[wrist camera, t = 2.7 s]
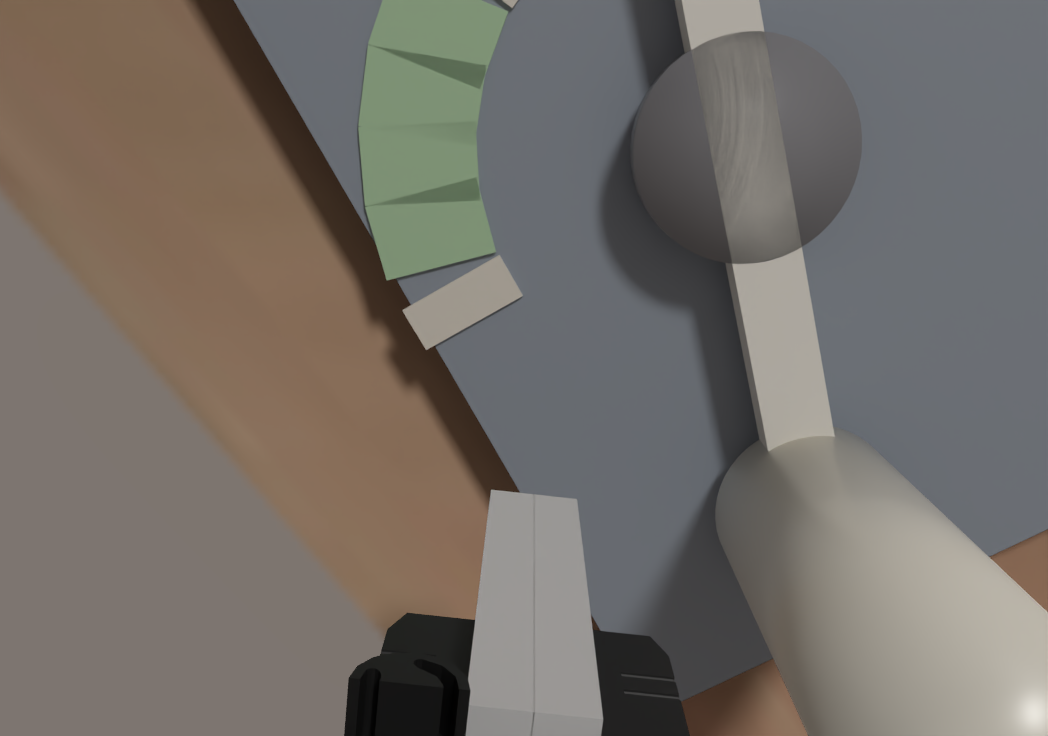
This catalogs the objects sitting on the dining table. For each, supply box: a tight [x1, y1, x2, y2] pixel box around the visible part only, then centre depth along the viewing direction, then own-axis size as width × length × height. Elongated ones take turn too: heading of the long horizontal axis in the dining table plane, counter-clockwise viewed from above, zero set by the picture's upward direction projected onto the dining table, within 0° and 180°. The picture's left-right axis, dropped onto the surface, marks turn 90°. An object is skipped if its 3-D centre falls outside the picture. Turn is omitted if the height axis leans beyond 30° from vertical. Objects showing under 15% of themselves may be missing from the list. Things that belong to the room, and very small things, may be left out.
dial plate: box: [234, 0, 1048, 701], centre depth 21 cm, size 22×15×1 cm
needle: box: [630, 0, 1048, 736], centre depth 15 cm, size 19×4×10 cm, turn 14°
